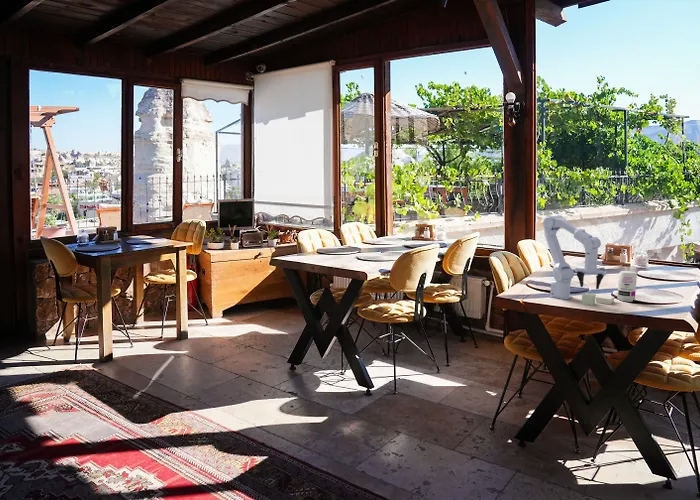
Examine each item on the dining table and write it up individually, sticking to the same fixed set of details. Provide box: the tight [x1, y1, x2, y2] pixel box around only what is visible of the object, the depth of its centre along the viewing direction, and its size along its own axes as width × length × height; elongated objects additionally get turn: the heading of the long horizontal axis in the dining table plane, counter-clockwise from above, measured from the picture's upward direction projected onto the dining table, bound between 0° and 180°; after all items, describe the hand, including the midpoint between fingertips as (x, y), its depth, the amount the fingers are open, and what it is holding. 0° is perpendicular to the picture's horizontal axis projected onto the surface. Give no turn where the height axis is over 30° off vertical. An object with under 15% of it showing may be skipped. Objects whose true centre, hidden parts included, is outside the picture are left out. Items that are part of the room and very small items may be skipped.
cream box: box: [595, 294, 615, 305], centre depth 295 cm, size 7×7×3 cm
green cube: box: [581, 292, 597, 306], centre depth 292 cm, size 5×5×5 cm
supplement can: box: [616, 270, 638, 303], centre depth 297 cm, size 8×8×15 cm
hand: (589, 287), depth 291 cm, fingers open, 7 cm apart
